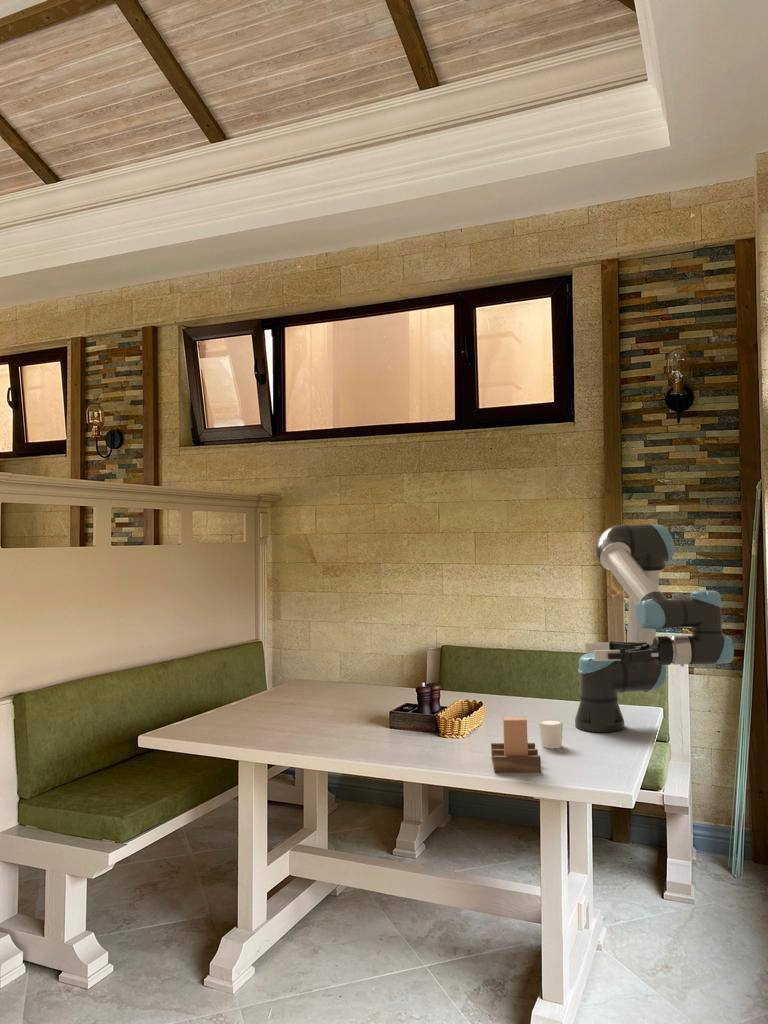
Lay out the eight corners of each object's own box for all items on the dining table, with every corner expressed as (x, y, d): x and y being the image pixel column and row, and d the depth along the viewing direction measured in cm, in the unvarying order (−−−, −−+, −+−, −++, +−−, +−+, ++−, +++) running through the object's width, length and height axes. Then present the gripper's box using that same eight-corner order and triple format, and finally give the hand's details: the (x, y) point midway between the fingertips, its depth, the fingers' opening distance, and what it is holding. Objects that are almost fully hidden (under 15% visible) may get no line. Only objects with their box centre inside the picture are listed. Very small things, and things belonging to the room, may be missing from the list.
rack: (491, 757, 218) (491, 743, 219) (535, 757, 218) (534, 742, 218) (494, 772, 205) (494, 757, 205) (540, 772, 204) (540, 756, 204)
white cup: (564, 749, 224) (563, 725, 224) (539, 749, 225) (539, 724, 226) (563, 743, 231) (562, 719, 231) (539, 742, 232) (538, 719, 232)
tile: (504, 762, 210) (503, 717, 210) (527, 762, 209) (525, 717, 210) (505, 765, 207) (503, 720, 207) (528, 765, 206) (526, 720, 207)
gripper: (685, 672, 196) (599, 674, 198) (658, 657, 221) (582, 658, 223) (684, 642, 196) (598, 644, 198) (657, 630, 221) (581, 631, 223)
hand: (589, 651), depth 210 cm, fingers open, 13 cm apart
